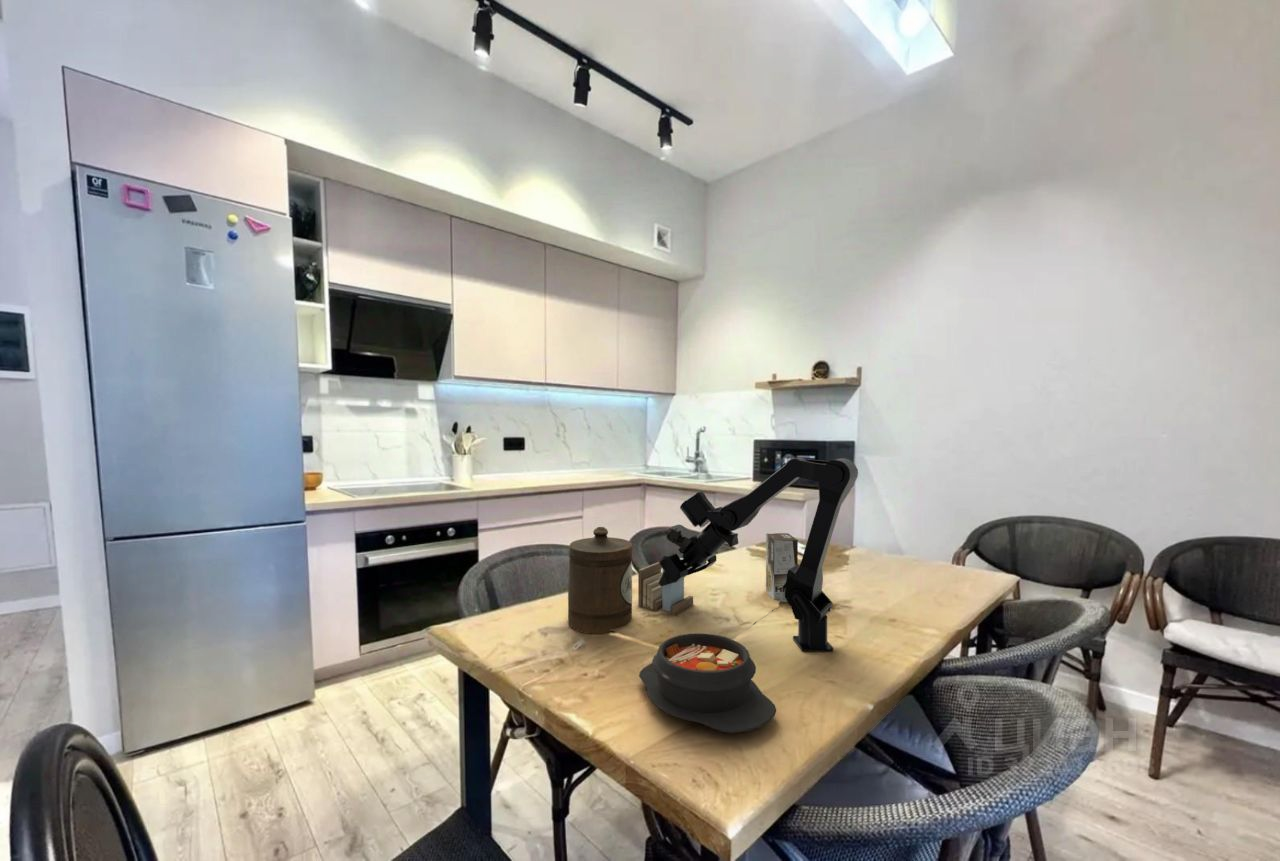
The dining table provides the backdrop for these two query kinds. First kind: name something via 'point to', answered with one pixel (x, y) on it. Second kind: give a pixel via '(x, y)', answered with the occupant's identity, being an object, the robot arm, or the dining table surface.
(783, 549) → the coffee box
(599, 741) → the dining table surface
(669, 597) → the grey-blue panel
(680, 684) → the casserole
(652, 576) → the walnut rack
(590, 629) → the wooden container
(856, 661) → the dining table surface
